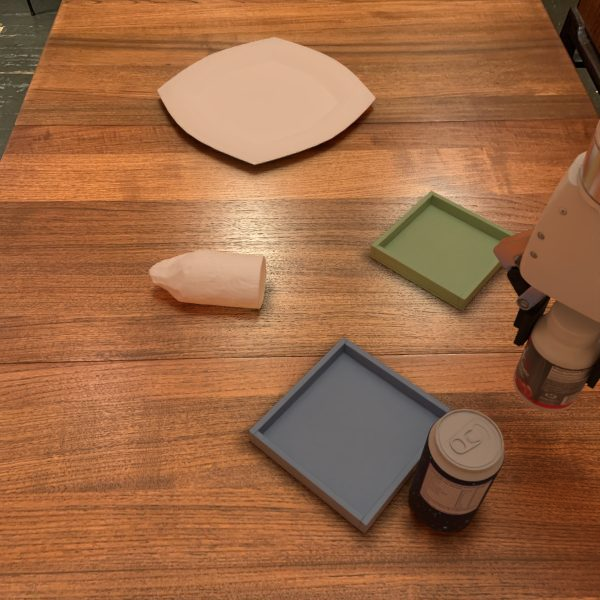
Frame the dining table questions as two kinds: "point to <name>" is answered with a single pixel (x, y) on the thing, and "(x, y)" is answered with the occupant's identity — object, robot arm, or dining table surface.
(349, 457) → the blue tray
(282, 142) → the plate
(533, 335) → the pill bottle
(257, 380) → the dining table surface
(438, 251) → the green tray
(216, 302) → the pale pink bottle
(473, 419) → the beverage can
